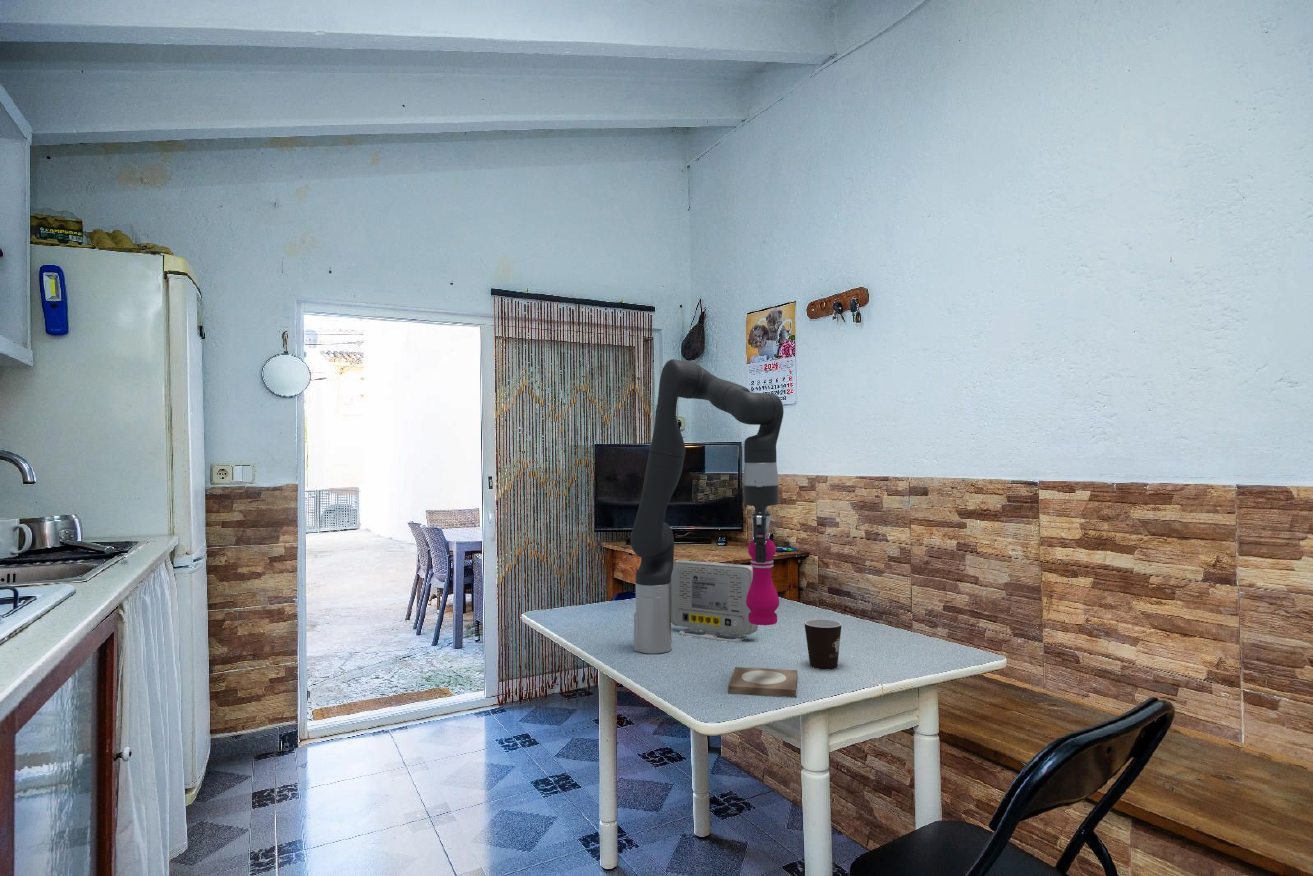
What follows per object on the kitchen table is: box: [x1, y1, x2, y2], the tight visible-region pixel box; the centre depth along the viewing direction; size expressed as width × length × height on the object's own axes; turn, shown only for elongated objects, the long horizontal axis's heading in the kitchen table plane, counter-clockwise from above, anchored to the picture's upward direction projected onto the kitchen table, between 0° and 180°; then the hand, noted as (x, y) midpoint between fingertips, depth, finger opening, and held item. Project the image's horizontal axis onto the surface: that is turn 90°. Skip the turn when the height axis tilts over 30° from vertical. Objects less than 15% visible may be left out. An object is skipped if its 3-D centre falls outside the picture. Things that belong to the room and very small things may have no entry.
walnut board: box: [727, 666, 798, 698], centre depth 156 cm, size 14×14×2 cm
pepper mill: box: [746, 535, 780, 626], centre depth 157 cm, size 7×7×20 cm
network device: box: [671, 559, 759, 643], centre depth 200 cm, size 26×9×20 cm, turn 58°
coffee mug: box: [804, 618, 843, 670], centre depth 171 cm, size 12×9×10 cm
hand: (761, 560), depth 157 cm, fingers closed on pepper mill, 6 cm apart
